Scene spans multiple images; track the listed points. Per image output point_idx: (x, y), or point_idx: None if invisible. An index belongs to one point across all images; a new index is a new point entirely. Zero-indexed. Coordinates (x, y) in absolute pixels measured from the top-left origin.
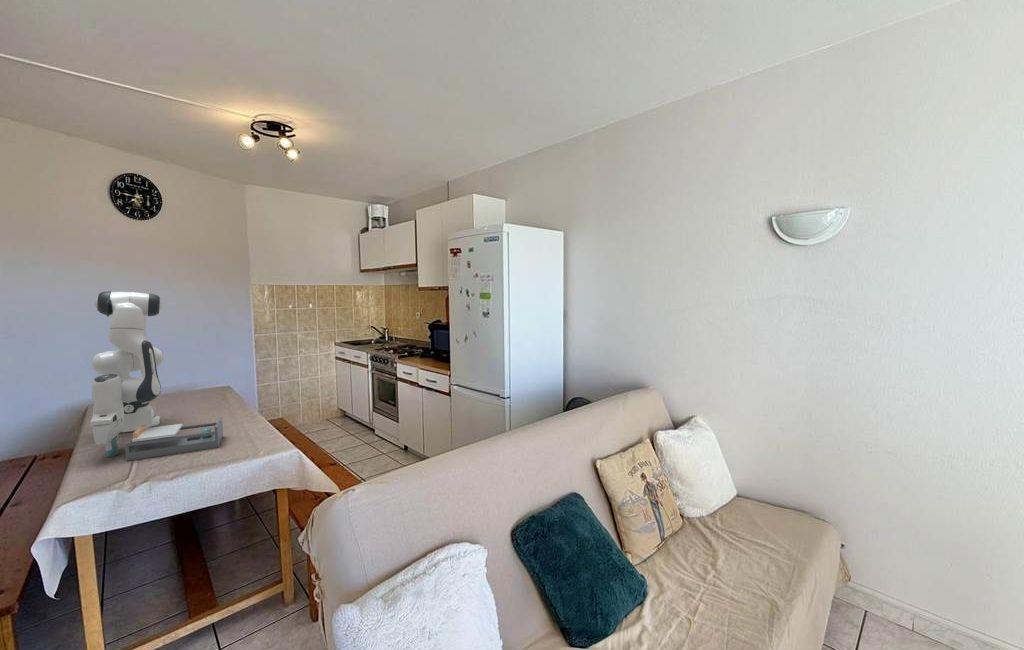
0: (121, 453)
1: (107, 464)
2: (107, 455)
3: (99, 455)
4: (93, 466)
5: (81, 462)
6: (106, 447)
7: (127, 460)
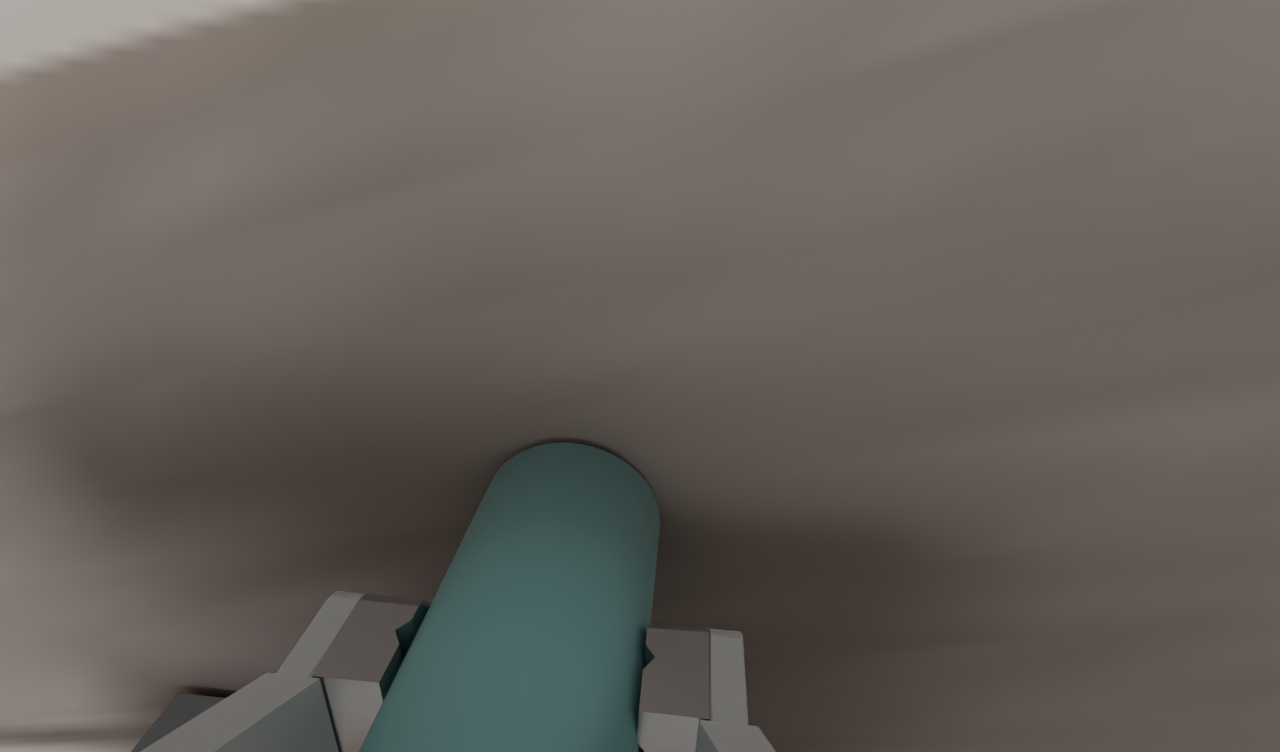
0: None
1: (110, 521)
2: (490, 484)
3: (716, 308)
4: (49, 363)
5: (354, 70)
6: (300, 656)
7: (181, 704)
